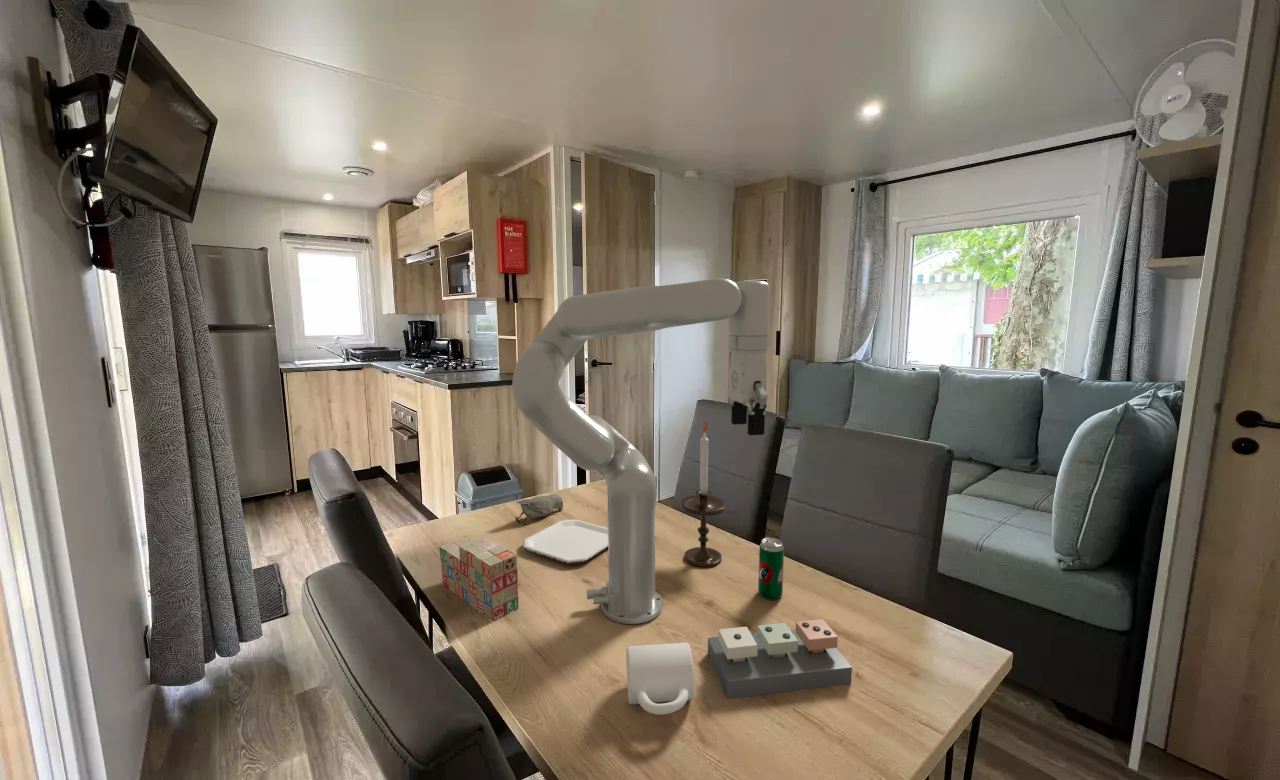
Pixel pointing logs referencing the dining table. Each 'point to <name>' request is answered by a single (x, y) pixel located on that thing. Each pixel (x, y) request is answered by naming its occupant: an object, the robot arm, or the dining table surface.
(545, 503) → the decorative bird
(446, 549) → the stack of blocks
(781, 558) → the soda can
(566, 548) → the plate
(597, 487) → the dining table surface
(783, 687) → the button panel
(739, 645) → the button one
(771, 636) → the button two
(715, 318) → the robot arm
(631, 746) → the dining table surface
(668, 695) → the mug
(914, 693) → the dining table surface
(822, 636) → the button three
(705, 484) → the candlestick
